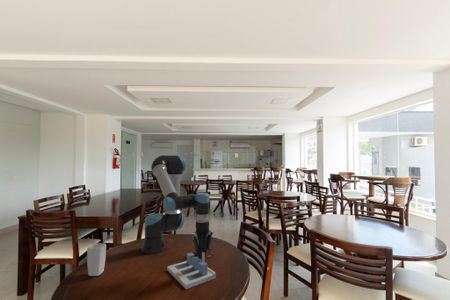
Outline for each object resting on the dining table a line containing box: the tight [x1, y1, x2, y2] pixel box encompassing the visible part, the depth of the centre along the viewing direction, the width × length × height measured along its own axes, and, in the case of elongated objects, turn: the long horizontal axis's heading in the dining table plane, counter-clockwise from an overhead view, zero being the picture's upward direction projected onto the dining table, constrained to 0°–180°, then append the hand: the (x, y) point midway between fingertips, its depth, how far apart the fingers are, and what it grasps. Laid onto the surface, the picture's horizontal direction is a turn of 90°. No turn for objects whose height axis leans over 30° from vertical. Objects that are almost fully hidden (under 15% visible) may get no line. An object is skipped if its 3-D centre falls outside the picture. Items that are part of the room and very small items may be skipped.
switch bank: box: [166, 260, 217, 290], centre depth 120 cm, size 23×17×3 cm
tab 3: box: [199, 261, 209, 276], centre depth 117 cm, size 4×3×5 cm
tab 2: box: [192, 256, 201, 270], centre depth 122 cm, size 4×3×5 cm
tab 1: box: [186, 252, 196, 265], centre depth 128 cm, size 4×3×5 cm
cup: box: [86, 243, 107, 277], centre depth 120 cm, size 7×7×15 cm
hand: (202, 263), depth 124 cm, fingers closed
